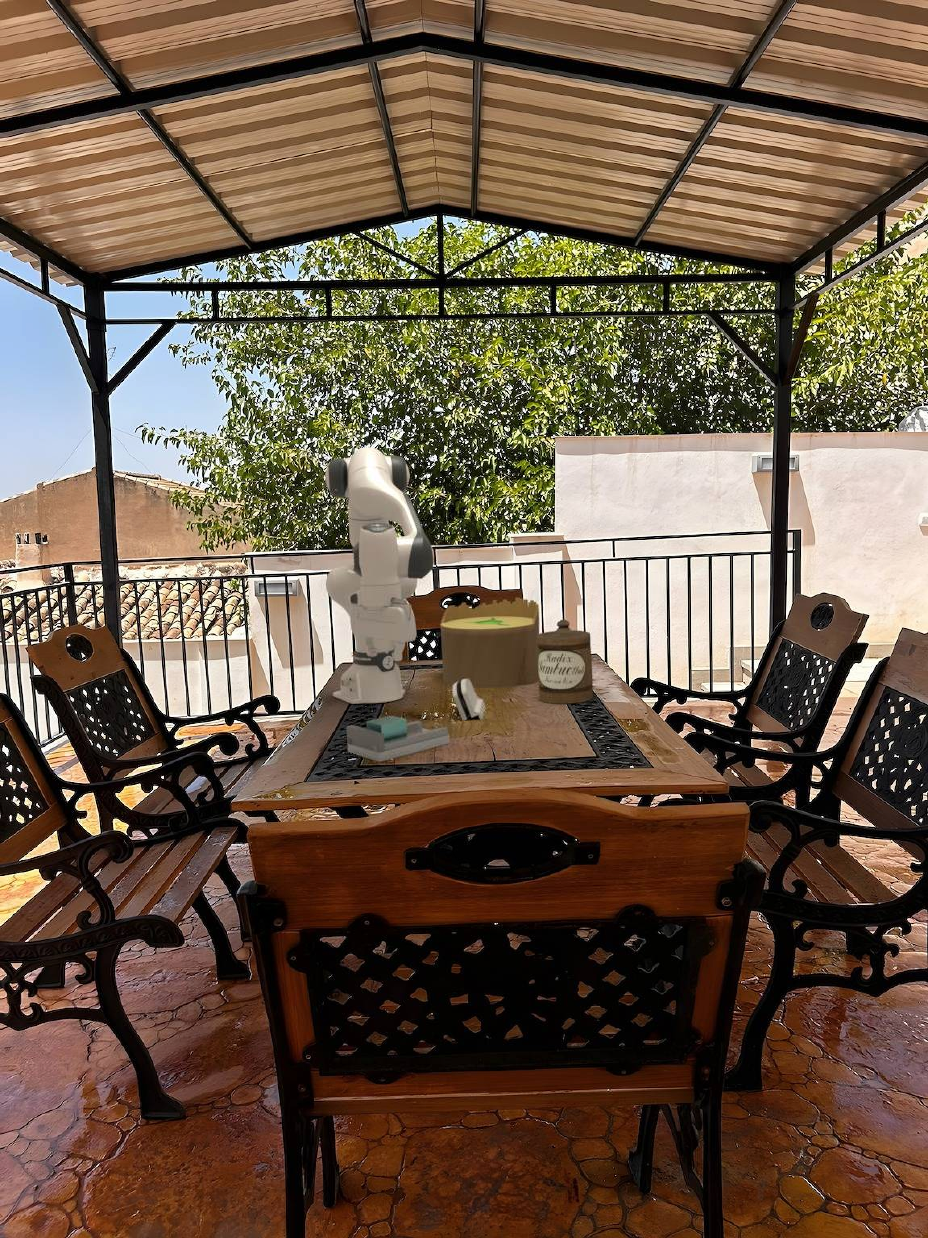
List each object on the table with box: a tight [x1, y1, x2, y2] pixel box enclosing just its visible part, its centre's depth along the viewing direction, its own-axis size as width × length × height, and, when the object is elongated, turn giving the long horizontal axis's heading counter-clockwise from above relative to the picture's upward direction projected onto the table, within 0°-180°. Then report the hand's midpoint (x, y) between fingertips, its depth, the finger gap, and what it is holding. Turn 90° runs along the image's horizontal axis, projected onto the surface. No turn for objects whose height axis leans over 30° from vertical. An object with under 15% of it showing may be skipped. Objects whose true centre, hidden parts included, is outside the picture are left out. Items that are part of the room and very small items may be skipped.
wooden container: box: [537, 619, 594, 705], centre depth 248 cm, size 15×15×22 cm
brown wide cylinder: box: [440, 597, 540, 689], centre depth 282 cm, size 32×35×24 cm
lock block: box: [366, 715, 407, 742], centre depth 202 cm, size 6×8×5 cm
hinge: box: [452, 679, 486, 721], centre depth 236 cm, size 17×5×10 cm, turn 176°
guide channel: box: [345, 720, 451, 763], centre depth 204 cm, size 12×20×6 cm, turn 131°
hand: (384, 658), depth 201 cm, fingers open, 8 cm apart
